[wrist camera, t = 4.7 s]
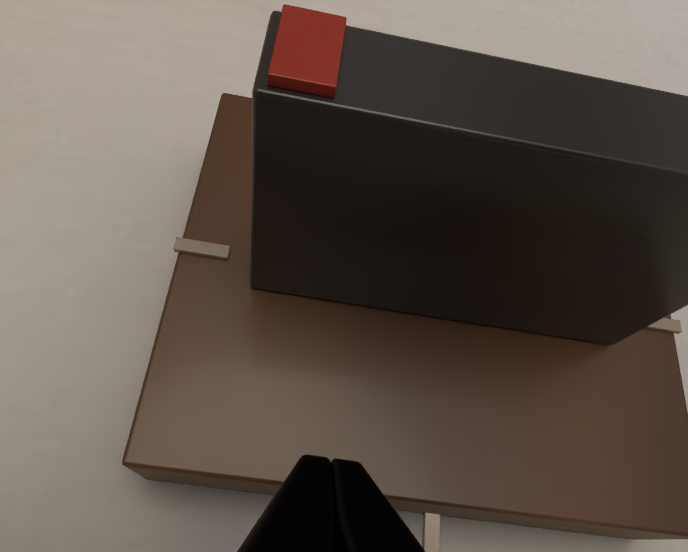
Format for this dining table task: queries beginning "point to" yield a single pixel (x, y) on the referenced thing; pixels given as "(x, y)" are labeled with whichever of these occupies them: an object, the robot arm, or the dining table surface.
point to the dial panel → (400, 392)
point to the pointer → (464, 184)
